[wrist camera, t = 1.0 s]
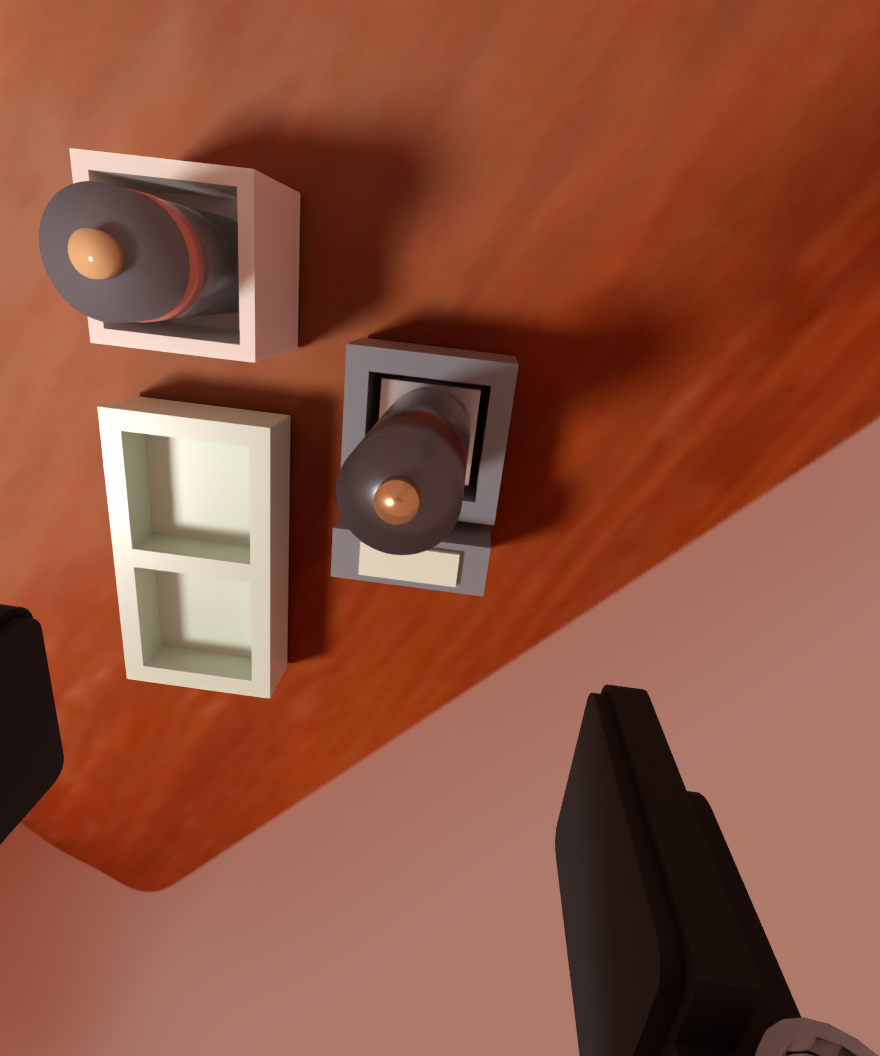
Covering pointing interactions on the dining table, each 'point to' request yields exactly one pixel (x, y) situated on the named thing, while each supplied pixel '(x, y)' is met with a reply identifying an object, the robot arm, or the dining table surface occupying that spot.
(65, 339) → the dining table surface
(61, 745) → the robot arm
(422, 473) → the cell
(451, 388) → the pad
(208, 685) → the tray
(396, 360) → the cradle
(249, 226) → the cup
